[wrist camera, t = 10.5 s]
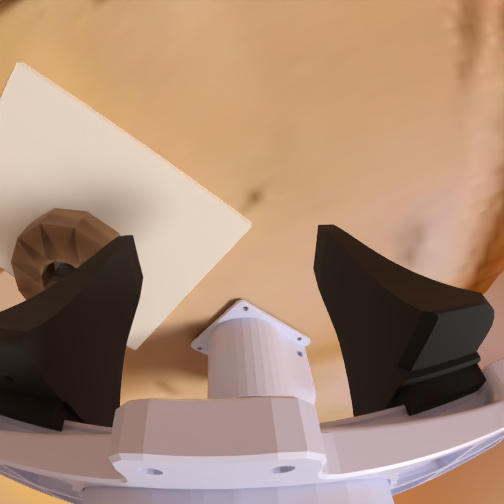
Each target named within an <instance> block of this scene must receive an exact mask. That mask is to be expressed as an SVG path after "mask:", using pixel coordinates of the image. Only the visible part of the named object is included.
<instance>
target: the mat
mask: <svg viewBox="0 0 504 504" xmlns="http://www.w3.org/2000/svg"><path fill="white" fill-rule="evenodd" d="M54 208H60V209H69V210H79V211H88V212H89V213H90V214H92V215H93V216H95V217H96V218H98V219H99V220H101V221H102V222H104V223H105V224H107V225H108V226H110V227H111V228H113V229H114V230H116V231H117V232H119V234H120V236H124V235H133V237H134V241H135V245H136V250H137V254H138V258H139V262H140V266H141V270H142V274H143V283H142V290H141V295H140V300H139V303H138V307H137V310H136V313H135V317H134V320H133V323H132V327H131V330H130V334H129V337H128V341H127V345H126V346H128V347H130V348H132V349H134V350H137V348H138V347H139V346H140V345H141V344H142V343H143V342H144V341H145V340H146V339H147V338H148V336H149V335H150V334H151V333H152V332H153V331H154V330H155V329H156V328H157V327H158V326H159V325H160V323H161V322H162V321H163V320H164V319H165V318H166V317H167V316H168V315H169V314H170V313H171V312H172V311H173V309H174V308H175V307H176V306H177V305H178V304H179V303H180V302H181V301H182V300H183V299H184V298H185V297H186V296H187V294H188V293H189V292H190V291H191V290H192V289H193V288H194V287H195V286H196V285H197V284H198V283H199V282H200V281H201V280H202V278H203V277H204V276H205V275H206V274H207V273H208V272H209V271H210V270H211V269H212V268H213V267H214V266H215V265H216V264H217V263H218V261H219V260H220V259H221V258H222V257H223V256H224V255H225V254H226V253H227V252H228V251H229V250H230V249H231V248H232V247H233V246H234V245H235V244H236V243H237V241H238V240H239V239H240V238H241V237H242V236H243V235H244V234H245V233H246V232H247V231H248V230H249V229H250V228H251V227H252V226H251V221H249V220H248V219H247V218H245V217H244V216H243V215H241V214H240V213H238V212H237V211H236V210H234V209H233V208H232V207H230V206H229V205H228V204H226V203H225V202H224V201H222V200H221V199H219V198H218V197H217V196H215V195H214V194H213V193H211V192H210V191H208V190H207V189H206V188H204V187H203V186H202V185H200V184H199V183H197V182H196V181H195V180H193V179H192V178H190V177H189V176H188V175H186V174H185V173H184V172H182V171H181V170H179V169H178V168H177V167H175V166H174V165H172V164H171V163H170V162H168V161H167V160H165V159H164V158H163V157H161V156H160V155H158V154H157V153H155V152H154V151H153V150H151V149H150V148H148V147H147V146H146V145H144V144H143V143H141V142H140V141H138V140H137V139H136V138H134V137H133V136H131V135H130V134H128V133H127V132H126V131H124V130H123V129H121V128H120V127H118V126H117V125H115V124H114V123H113V122H111V121H110V120H108V119H107V118H105V117H104V116H102V115H101V114H100V113H98V112H97V111H95V110H94V109H92V108H91V107H89V106H88V105H86V104H85V103H83V102H82V101H80V100H79V99H77V98H76V97H75V96H73V95H72V94H70V93H69V92H67V91H66V90H64V89H63V88H61V87H60V86H58V85H57V84H55V83H54V82H52V81H51V80H49V79H48V78H46V77H45V76H43V75H41V74H40V73H38V72H37V71H35V70H34V69H32V68H31V67H29V66H28V65H26V64H25V63H23V62H20V63H16V65H15V67H14V70H13V72H12V74H11V76H10V78H9V80H8V82H7V85H6V87H5V89H4V91H3V94H2V96H1V99H0V267H2V268H3V269H4V270H6V271H7V272H8V273H10V274H11V275H12V276H14V272H13V269H12V265H11V260H12V256H13V252H14V248H15V245H16V241H17V237H18V236H19V235H20V234H21V233H22V232H23V231H24V230H25V229H26V228H27V227H28V226H29V225H30V224H31V223H32V222H33V221H34V220H36V219H38V218H39V217H41V216H43V215H44V214H46V213H47V212H49V211H51V210H52V209H54ZM60 263H61V262H57V261H54V266H55V271H56V269H57V268H58V266H59V265H60ZM14 277H15V276H14Z"/></svg>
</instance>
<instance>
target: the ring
mask: <svg viewBox="0 0 504 504" xmlns="http://www.w3.org/2000/svg"><path fill="white" fill-rule="evenodd" d="M118 236H120V234H119V232H117V231H116V230H114V229H113V228H111V227H110V226H108V225H107V224H105V223H104V222H102V221H101V220H99V219H98V218H96V217H95V216H93V215H92V214H90V213H89V212H88V211H79V210H69V209H60V208H54V209H52V210H51V211H49V212H47V213H46V214H44V215H43V216H41V217H39V218H38V219H36V220H34V221H33V222H32V223H31V224H30V225H29V226H28V227H27V228H26V229H25V230H24V231H23V232H22V233H21V234H20V235H19V236H18V237H17V241H16V245H15V248H14V252H13V256H12V260H11V265H12V269H13V272H14V276H15V279H16V283H17V286H18V289H19V291H20V292H21V293H22V295H23V296H24V298H25V299H26V300H28V299H30V298H32V297H33V296H35V295H37V294H39V293H40V292H42V291H43V290H44V289H45V287H46V285H47V284H48V282H49V281H50V279H51V277H52V276H53V274H54V273H55V266H54V261H57V262H64V263H69V264H71V265H72V266H74V267H75V268H78V267H79V266H80V265H82V264H83V263H84V262H86V261H87V260H88V259H89V258H90V257H92V256H93V255H94V254H95V253H97V252H98V251H99V250H100V249H102V248H103V247H104V246H105V245H107V244H108V243H109V242H111V241H112V240H113V239H115V238H116V237H118Z"/></svg>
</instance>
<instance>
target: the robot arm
mask: <svg viewBox="0 0 504 504" xmlns="http://www.w3.org/2000/svg"><path fill="white" fill-rule="evenodd" d="M314 272H315V277H316V281H317V284H318V288H319V291H320V294H321V296H322V299H323V301H324V304H325V306H326V308H327V311H328V313H329V316H330V318H331V321H332V323H333V326H334V328H335V331H336V334H337V337H338V340H339V343H340V347H341V351H342V355H343V359H344V364H345V368H346V373H347V378H348V383H349V388H350V394H351V400H352V407H353V414H354V417H352V418H347V419H341V420H336V421H330V422H325V423H319V421H318V417H317V413H316V409H315V406H314V404H315V398H316V393H315V387H314V383H313V379H312V375H311V371H310V367H309V363H308V359H307V355H306V351H305V347H306V346H307V345H308V344H309V343H310V342H311V341H310V338H309V337H307V336H305V335H303V334H302V333H300V332H298V331H296V330H295V329H293V328H291V327H289V326H288V325H286V324H284V323H282V322H281V321H279V320H277V319H275V318H274V317H272V316H270V315H269V314H267V313H265V312H263V311H262V310H260V309H258V308H257V307H255V306H253V305H251V304H250V303H248V302H246V301H245V300H238V301H236V302H235V303H234V304H233V305H232V306H231V307H230V308H229V309H227V310H226V311H225V312H224V313H223V314H222V315H221V316H220V317H219V318H218V319H217V320H215V321H214V322H213V323H212V324H211V325H210V326H209V327H208V328H207V329H206V330H204V331H203V332H202V333H201V334H200V335H199V336H198V337H197V338H196V339H194V340H193V341H192V342H191V348H192V349H194V350H196V351H198V352H201V353H203V354H205V355H207V356H208V399H152V398H151V399H141V400H131V401H128V402H126V403H125V404H123V405H122V406H120V391H121V379H122V369H123V362H124V355H125V349H126V345H127V341H128V337H129V334H130V330H131V327H132V323H133V320H134V317H135V313H136V310H137V307H138V303H139V300H140V295H141V290H142V283H143V274H142V270H141V266H140V262H139V258H138V254H137V250H136V245H135V241H134V237H133V235H124V236H118V237H116V238H115V239H113V240H112V241H111V242H109V243H108V244H107V245H105V246H104V247H103V248H102V249H100V250H99V251H98V252H97V253H95V254H94V255H93V256H92V257H90V258H89V259H88V260H87V261H86V262H84V263H83V264H82V265H80V266H79V267H78V268H76V269H75V270H74V271H73V272H71V273H70V274H69V275H67V276H66V277H64V278H63V279H61V280H60V281H58V282H57V283H55V284H54V285H52V286H51V287H49V288H48V289H46V290H44V291H42V292H40V293H39V294H37V295H35V296H33V297H32V298H30V299H28V300H26V301H24V302H22V303H20V304H18V305H15V306H13V307H11V308H9V309H6V310H4V311H1V312H0V474H1V475H3V476H5V477H7V478H9V479H12V480H14V481H16V482H18V483H21V484H23V485H25V486H28V487H30V488H32V489H35V490H37V491H40V492H42V493H45V494H47V495H50V496H53V497H56V498H59V499H61V500H64V501H67V502H71V503H74V504H394V502H393V498H392V495H395V494H397V493H400V492H403V491H405V490H408V489H410V488H413V487H415V486H417V485H420V484H422V483H424V482H427V481H429V480H431V479H433V478H435V477H437V476H439V475H441V474H444V473H446V472H448V471H450V470H452V469H453V468H455V467H457V466H459V465H461V464H463V463H465V462H467V461H469V460H470V459H472V458H474V457H476V456H478V455H479V454H481V453H483V452H485V451H486V450H488V449H490V448H491V447H493V446H495V445H496V444H498V443H499V442H500V441H501V440H502V439H504V358H502V359H500V360H498V361H495V362H493V363H491V364H489V365H487V366H485V367H484V368H483V369H482V370H481V369H480V368H479V366H478V364H477V363H478V362H479V361H480V356H479V354H478V353H477V350H478V348H479V346H480V345H481V343H482V342H483V340H484V339H485V337H486V335H487V333H488V332H489V330H490V328H491V326H492V324H493V320H494V309H493V308H492V306H491V305H490V304H489V302H488V301H487V300H486V299H485V297H484V296H483V295H482V294H481V293H479V292H474V291H470V290H465V289H461V288H457V287H453V286H450V285H447V284H443V283H440V282H437V281H435V280H432V279H429V278H427V277H424V276H422V275H419V274H417V273H414V272H412V271H410V270H408V269H406V268H404V267H402V266H400V265H398V264H396V263H394V262H392V261H390V260H389V259H387V258H385V257H383V256H382V255H380V254H378V253H377V252H375V251H374V250H372V249H370V248H369V247H367V246H366V245H364V244H363V243H361V242H360V241H358V240H357V239H355V238H354V237H352V236H351V235H349V234H348V233H346V232H345V231H343V230H342V229H340V228H339V227H337V226H335V225H318V233H317V242H316V251H315V260H314ZM243 307H247V308H243ZM299 337H300V338H299Z"/></svg>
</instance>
